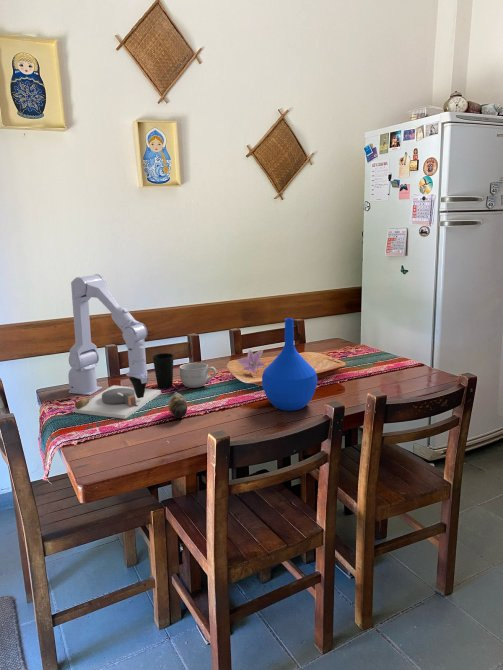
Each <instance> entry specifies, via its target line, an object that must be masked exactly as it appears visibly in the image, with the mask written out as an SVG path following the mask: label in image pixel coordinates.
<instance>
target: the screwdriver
mask: <svg viewBox="0 0 503 670" xmlns="http://www.w3.org/2000/svg"><path fill="white" fill-rule="evenodd" d="M95 396H96V394H95V395H92V396H91V395H90V397H83V398H82V399H80V400H78V401H76V402H75V403H74V408H75V407H76V408H77V409H80V408H82V407H83V406H85V405H87V404H88V403H89V400H90V399H92V398H94V397H95Z"/></svg>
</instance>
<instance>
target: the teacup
mask: <svg viewBox="0 0 503 670" xmlns="http://www.w3.org/2000/svg"><path fill="white" fill-rule="evenodd" d="M210 370H212V371H213V374H212V375H211V376H209V372H210ZM216 375H217V369H216V368H215V367H214V366H209V365H208V363H204V362H189V363H184V364H182V365H181V364H180V366H179V377H180V378H179V379H180V382H181V383H182V384H183V385H184V386H185V387H187V388H191V389H195V388H201V387H203V386H205V385H206V383H208V382H210V380H211V379H214V378H215V376H216Z"/></svg>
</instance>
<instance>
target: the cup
mask: <svg viewBox="0 0 503 670" xmlns="http://www.w3.org/2000/svg"><path fill="white" fill-rule="evenodd" d="M174 356H175V355H174V354H173V353H170V352H169V353H168V352H167V353H166V352H165V353H163V352H161V353H157V354H154V355H153V356H152V361H153V362H152V363H153V367H154V374H155V379H156V385H157V389H159V388H160V389H159V390H168V389H171V388H172V387H173V385H174V384H173V383H174V381H173V380H174Z"/></svg>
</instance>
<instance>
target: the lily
mask: <svg viewBox="0 0 503 670" xmlns="http://www.w3.org/2000/svg"><path fill="white" fill-rule="evenodd" d="M263 352H264V349H260V350H258V351H256V352H255V353H254V352H253V351H252V350H251V349H249V350H248V352H247V357H242V358H238V359H237V360H236V361H237V362H236V363H238V364H240V365H241V366H242V367H243V369H242V371H243V370H248V371H249V372H253V373H256V374H257V372H258V371H257V369H261V368H263V367H265V366H266V364H265V363H264V362H263V361H261V358H262V355H263ZM249 372H248V373H249Z"/></svg>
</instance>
